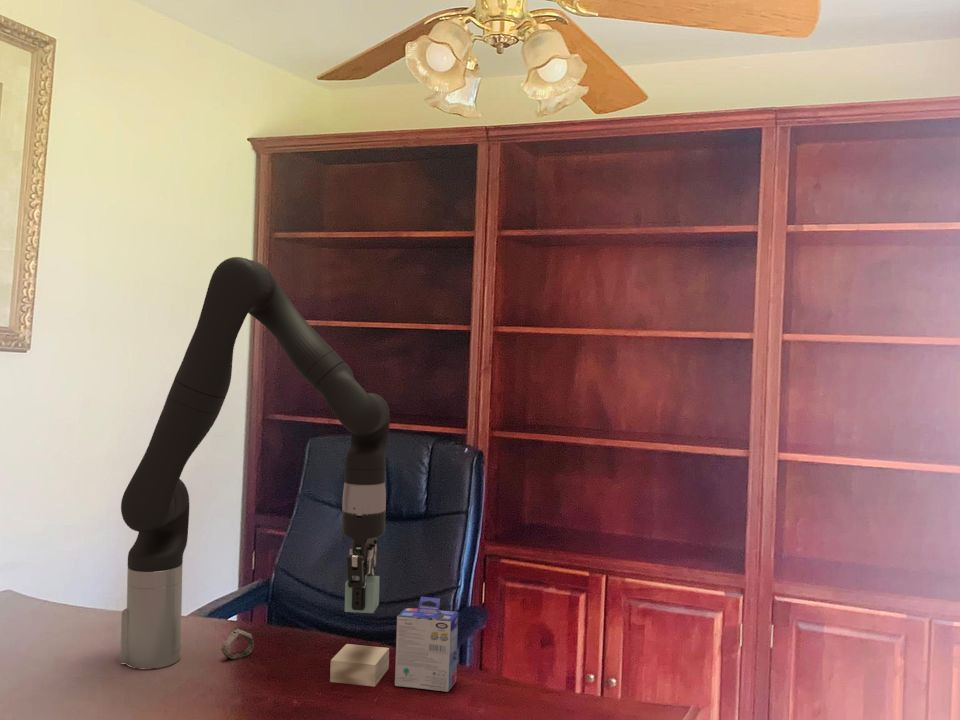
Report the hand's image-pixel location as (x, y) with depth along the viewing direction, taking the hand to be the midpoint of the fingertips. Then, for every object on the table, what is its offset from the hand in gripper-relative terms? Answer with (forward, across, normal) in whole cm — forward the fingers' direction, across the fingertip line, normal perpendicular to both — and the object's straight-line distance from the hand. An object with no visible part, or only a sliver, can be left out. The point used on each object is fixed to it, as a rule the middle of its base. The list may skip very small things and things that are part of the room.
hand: (361, 603), depth 144 cm
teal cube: (+1, 0, 0) cm, 1 cm away
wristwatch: (+13, -5, -24) cm, 28 cm away
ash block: (+13, 0, 0) cm, 13 cm away
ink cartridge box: (+13, +2, +12) cm, 18 cm away
